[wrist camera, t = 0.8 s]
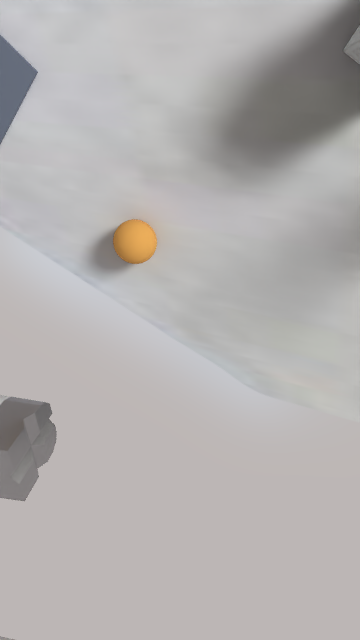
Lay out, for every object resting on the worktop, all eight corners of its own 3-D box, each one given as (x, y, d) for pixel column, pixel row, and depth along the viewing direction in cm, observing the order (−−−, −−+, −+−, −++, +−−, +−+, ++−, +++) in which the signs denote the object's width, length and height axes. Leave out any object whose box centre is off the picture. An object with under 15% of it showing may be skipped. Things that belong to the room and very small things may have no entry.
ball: (114, 220, 46) (100, 233, 41) (152, 209, 44) (142, 221, 40) (129, 258, 48) (117, 274, 44) (166, 249, 47) (157, 265, 42)
